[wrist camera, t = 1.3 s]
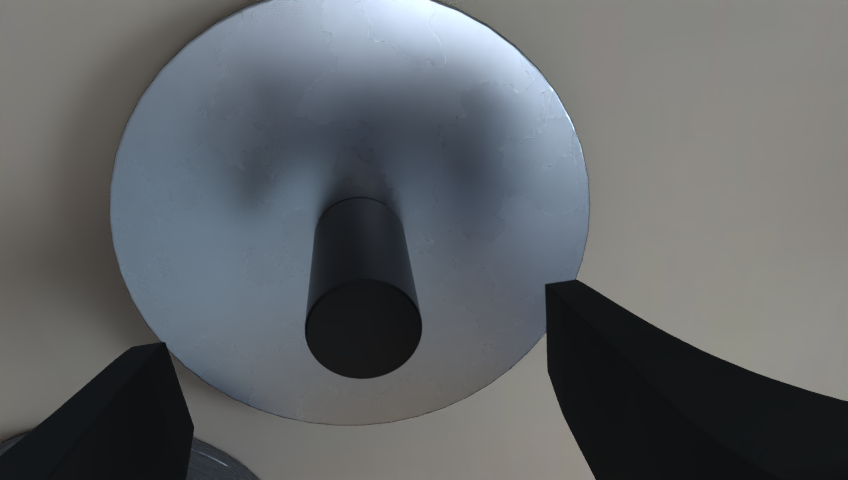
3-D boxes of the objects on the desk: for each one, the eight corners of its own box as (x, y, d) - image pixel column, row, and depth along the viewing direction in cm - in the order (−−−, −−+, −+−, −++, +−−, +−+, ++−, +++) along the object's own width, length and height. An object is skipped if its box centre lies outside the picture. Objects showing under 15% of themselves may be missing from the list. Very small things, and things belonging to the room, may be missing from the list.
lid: (579, 370, 21) (651, 503, 16) (192, 431, 21) (142, 591, 16) (575, -48, 16) (682, -41, 11) (51, 17, 15) (-94, 57, 10)
